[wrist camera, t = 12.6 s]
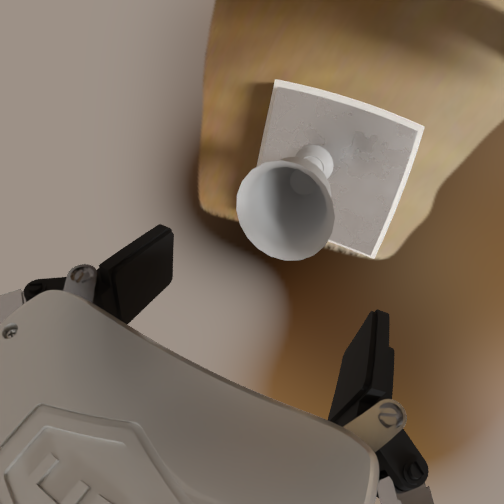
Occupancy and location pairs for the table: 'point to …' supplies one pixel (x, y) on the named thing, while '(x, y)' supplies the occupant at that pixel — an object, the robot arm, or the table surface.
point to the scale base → (364, 107)
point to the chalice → (289, 204)
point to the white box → (345, 158)
